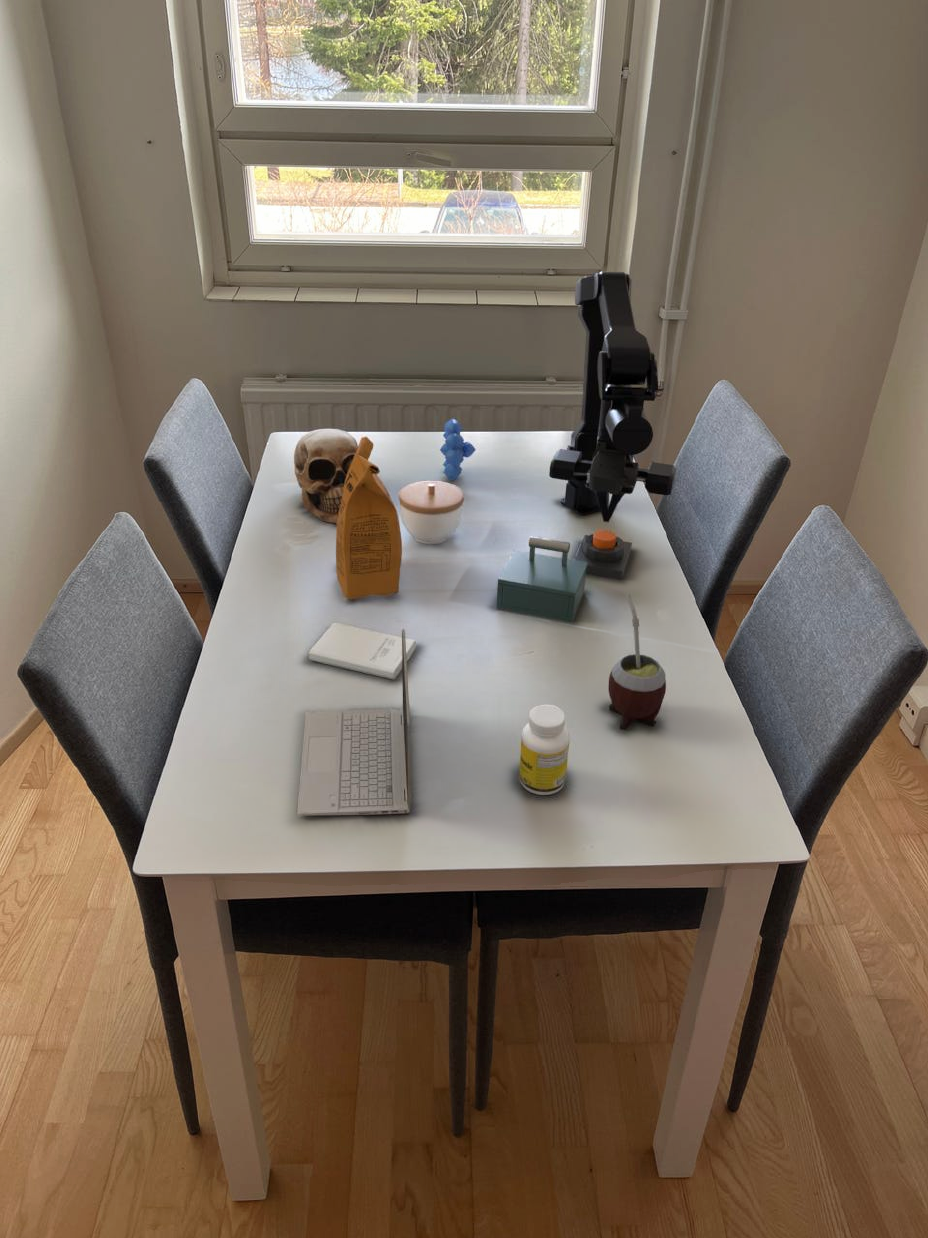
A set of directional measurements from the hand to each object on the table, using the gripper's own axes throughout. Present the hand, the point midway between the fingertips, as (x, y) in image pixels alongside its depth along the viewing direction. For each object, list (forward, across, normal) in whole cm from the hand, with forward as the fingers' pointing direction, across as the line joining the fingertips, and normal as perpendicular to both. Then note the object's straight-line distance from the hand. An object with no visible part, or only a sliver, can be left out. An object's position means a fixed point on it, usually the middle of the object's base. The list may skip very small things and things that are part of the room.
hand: (606, 521), depth 149 cm
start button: (+4, 0, 0) cm, 4 cm away
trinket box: (+8, -29, -1) cm, 30 cm away
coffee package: (+8, -33, -19) cm, 39 cm away
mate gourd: (+7, +10, -38) cm, 40 cm away
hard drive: (+8, -26, -37) cm, 46 cm away
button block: (+7, 0, 0) cm, 7 cm away
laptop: (+7, -19, -58) cm, 61 cm away
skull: (+8, -50, +5) cm, 50 cm away
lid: (+3, -7, -15) cm, 16 cm away
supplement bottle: (+7, +3, -54) cm, 54 cm away
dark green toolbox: (+7, -7, -15) cm, 18 cm away
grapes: (+8, -32, +22) cm, 39 cm away
